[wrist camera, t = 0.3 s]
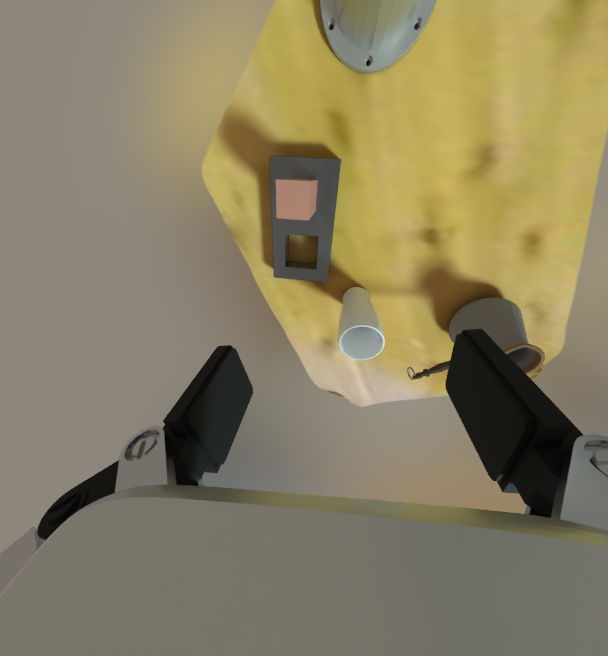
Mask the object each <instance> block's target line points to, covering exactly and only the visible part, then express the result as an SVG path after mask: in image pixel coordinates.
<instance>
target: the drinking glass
mask: <svg viewBox="0 0 608 656" xmlns="http://www.w3.org/2000/svg"><path fill="white" fill-rule="evenodd" d="M338 342H339V348H340V350H341V351H342V353H343V354H344V355H346V356H347V357H349V358H351V359H355V360H367V359H371V358H373V357H375V356H377V355H378V354H379V353H380V352H381V351H382V349H383V347H384V344H385V340H384V334H383V329H382V326H381V322H380V320H379V317H378V315H377V313H376V311H375V309H374V306H373V304H372V302H371V299H370V296H369V293H368V292H367V291H366V290H365V289H364V288H361V287H353V288H350V289H348V290H347V291H346V292H345V293H344V295H343V298H342V308H341V314H340V320H339V327H338Z"/></svg>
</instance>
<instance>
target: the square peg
mask: <svg viewBox="0 0 608 656" xmlns="http://www.w3.org/2000/svg"><path fill="white" fill-rule="evenodd" d="M317 183H318V180H309V179H291V178H290V179H276V214H277V218H280V219H294V220H308V221H309V220H310V218H311V217H312V215H313V214H314V213H315V211H316V198H317Z"/></svg>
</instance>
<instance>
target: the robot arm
mask: <svg viewBox="0 0 608 656" xmlns="http://www.w3.org/2000/svg"><path fill="white" fill-rule="evenodd" d="M435 3H436V0H320V7H321V16H322V21H323V26H324V31H325V34H326V37H327V40H328V42H329V45H330V47H331V48H332V50H333V52H334V54H335V55H336V56H337V58H338V59H339V60H340V61H341V62H342V63H343V64H344V65H345V66H347V67H348V68H349V69H351V70H354V71H356V72H359V73H368V74H370V73H375V72H380V71H382V70H384V69H386V68H389V67H390V66H392V65H393V64H394V63H396V62H397V61H399V60H400V59H401V58H402V57H403V56H404V55H405V54H406V53H407V52H408V51H409V50H410V48H411V47H412V46H413V44H414V43H415V42H416V40H417V39H418V38H419V36H420V34H421V33H422V31H423V29H424V27H425V26H426V24H427V21H428V19H429V17H430V15H431V13H432V11H433V9H434V6H435ZM331 25H333V27H334V28H333V30H330V29H329V28H330V26H331ZM415 25H418V30H415V29H414V26H415ZM367 61H370V65H369V66H367V65H366V62H367ZM446 390H447V393H448V395H449V397H450V399H451V401H452V402H453V405H454V407H455V408H456V411H457V413H458V414H459V417H460V418H461V420H462V423H463V424H464V427H465V429H466V431H467V433H468V435H469V437H470V439H471V441H472V443H473V445H474V447H475V449H476V451H477V452H478V454H479V457H480V459H481V461H482V463H483V465H484V467H485V469H486V471H487V472H488V475H489V476H490V478H491V479H492V480H493V481H497V482H498V484H499V486H500V488H501V490H502V492H506V493H519V494H520V496H521V497H522V499H523V501H524V503H525V504H527V507H526V511H525V514H518V513H509V512H498V511H489V510H480V509H469V508H461V507H449V506H438V505H426V504H415V503H403V502H392V501H381V500H370V499H358V498H346V497H333V496H321V495H309V494H297V493H285V492H272V491H259V490H245V489H233V488H220V487H206V486H203V481H202V476H203V474H204V471H205V472H211V473H217V472H218V470H219V468H220V465H222V464H223V463H224V462H225V460H226V458H227V455H228V453H229V450H230V448H231V446H232V443H233V441H234V438H235V436H236V433H237V431H238V428H239V426H240V424H241V421H242V418H243V416H244V414H245V411H246V409H247V406H248V404H249V402H250V399H251V397H252V394H253V387H252V385H251V383H250V381H249V378H248V376H247V373H246V371H245V369H244V367H243V364H242V362H241V360H240V358H239V355H238V353H237V351H236V349H235V348H233V347H232V346H230V345H228V346H218V347H217V348H216V350H215V351H214V352H213V353H212V355H211V356H210V358H209V359H208V360H207V362H206V363H205V364H204V366H203V367H202V368H201V370H200V371H199V373H198V374H197V375H196V377H195V378H194V379H193V381H192V382H191V384H190V385H189V386H188V388H187V389H186V390H185V392H184V393H183V395H182V396H181V397H180V399H179V400H178V401H177V403H176V404H175V405H174V407H173V408H172V410H171V411H170V412H169V414H168V415H167V416H166V418H165V419H164V421H163V422H164V423H165V426H164V427H163V428H161V427H159V426H152V427H149V428H146V429H144V430H142V431H140V432H139V433H137V434H136V435H135V436H133V437H132V438H131V439H130V440H129V441H128V443H127V444H126V445H125V446H124V448H123V449H122V451H121V454H120V457H119V460H118V461H117V462H115V463H113V464H112V465H110V466H109V467H107V468H105V469H104V470H102V471H101V472H99V473H97V474H95V475H94V476H92V477H91V478H89V479H87V480H86V481H84V482H82V483H81V484H79V485H78V486H76V487H74V488H73V489H71V490H70V491H68V492H67V493H65V494H64V495H63V496H61V497H60V498H59V499H58V500H57V501H56V502H55V503H54V504H53V505H52V506H51V507H50V508H49V509H48V511H47V512H46V513H45V515H44V517H43V518H42V519H41V522H40V524H39V526H38V529H37V528H35V527H33V528H32V529H30V530H29V531H28V532H27V533H25V534H24V535H23V536H22V537H20V538H19V539H18V540H17V541H16V542H14V543H13V544H12V545H11V546H9V547H8V548H7V549H6V550H4V551H3V552H2V553H1V554H0V656H608V437H607V436H601V435H595V434H590V435H583V434H582V433H581V432H580V431H579V430H578V429H577V428H576V427H575V426H574V424H573V423H572V422H571V421H570V420H569V419H568V418H567V417H566V416H565V415H564V414H563V413H562V412H561V411H560V410H559V409H558V408H557V407H556V405H555V404H554V403H553V402H552V401H551V400H550V399H549V398H548V397H547V396H546V395H545V394H544V393H543V392H542V391H541V389H540V388H539V387H538V386H537V385H536V384H535V383H534V382H533V381H532V380H531V379H530V378H529V377H528V376H527V375H526V374H525V373H524V372H523V370H522V369H521V368H520V367H519V366H517V365H516V364H515V363H514V362H513V361H512V360H511V359H510V358H509V357H508V356H507V355H506V354H505V352H504V351H503V350H502V349H501V348H500V347H499V346H498V345H497V344H496V343H495V342H494V341H493V340H492V339H491V338H490V336H489V335H488V334H487V333H486V332H485V331H484V330H482V329H469V330H462V332H461V334H457V335H456V338H455V343H454V347H453V352H452V356H451V361H450V365H449V370H448V374H447V379H446Z"/></svg>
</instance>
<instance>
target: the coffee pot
mask: <svg viewBox="0 0 608 656" xmlns="http://www.w3.org/2000/svg"><path fill="white" fill-rule="evenodd" d="M469 329H482V330H484V331H485V332H486V333H487V334H488V335H489V336H490V338H491V339H492V340H493V341H494V342H495V343H496V344H497V345H498V346H499V347H500V348H501V349H502V350H503V351H504V352H505V354H506V355H507V356H508V357H509V358H510V359H511V360H512V361H513V362H514V363H515V364H516V365H517V366H519V367H520V368H521V369H522V370H523V372H524V373H525V374H526V375H527V374H529V373H531V372H533V371H535V370H536V369H538V368H539V367H540V366H541V365H542V363H543V362H544V359H545V355H544V352H543V351H542V350H541V349H540V348H538V347H536V346H533V345H531V344H528V340H527V336H526V331H525V327H524V323H523V319H522V314H521V310H520V309H519V308H518V306H517V305H516V304H514V303H513V302H511V301H509V300H506V299H501V298H484V299H479V300H476V301H473V302H471V303H469V304H467V305H465V306H464V307H462V308H461V309H460V310H459V311H458V312H457V313H456V314H455V315H454V316H453V318H452V319H451V322H450V325H449V336H450V338H451V340H452V342H453V343H455V338H456V335H457V334H461V332H462V330H469ZM450 361H451V360H450ZM450 361H447V362H444V363H440V364H437V365H435V366H434V367H432V368H430V369H428V370H427V369H424V370H423V372H421V373H417V374H415V372H414V370H413V369H412V368H411V367H409V368H410V369H412V371H413V373H414V375H413V379H419V378H422V377H423V376H427V377H428V376H430V374H433V373H438V372H442V371H444V370H447V369H449V365H450ZM409 368H408V369H407V373H408V376H409V377H410V375H409V371H408V370H409ZM410 379H412V378H411V377H410ZM413 379H412V380H413Z"/></svg>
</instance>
